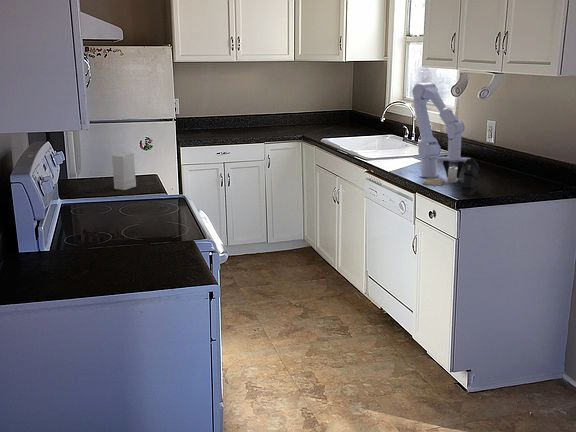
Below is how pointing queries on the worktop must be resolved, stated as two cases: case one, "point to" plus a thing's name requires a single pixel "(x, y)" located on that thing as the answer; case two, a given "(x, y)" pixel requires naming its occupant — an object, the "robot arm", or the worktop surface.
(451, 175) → the housing
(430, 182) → the stand
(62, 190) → the worktop surface
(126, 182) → the skincare box
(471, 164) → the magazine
